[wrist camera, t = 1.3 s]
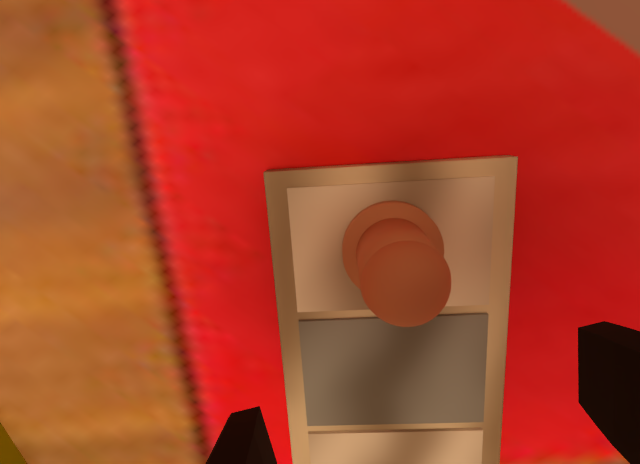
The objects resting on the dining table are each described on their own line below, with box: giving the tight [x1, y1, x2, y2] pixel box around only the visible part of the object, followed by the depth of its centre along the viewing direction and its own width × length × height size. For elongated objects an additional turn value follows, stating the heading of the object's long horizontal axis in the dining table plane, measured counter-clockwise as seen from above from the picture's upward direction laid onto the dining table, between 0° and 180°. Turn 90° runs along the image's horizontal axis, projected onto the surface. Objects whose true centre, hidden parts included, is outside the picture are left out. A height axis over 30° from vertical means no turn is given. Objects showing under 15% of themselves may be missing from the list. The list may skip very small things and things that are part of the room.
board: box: [264, 155, 518, 464], centre depth 21 cm, size 11×27×1 cm, turn 4°
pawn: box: [342, 201, 451, 327], centre depth 16 cm, size 4×4×6 cm
